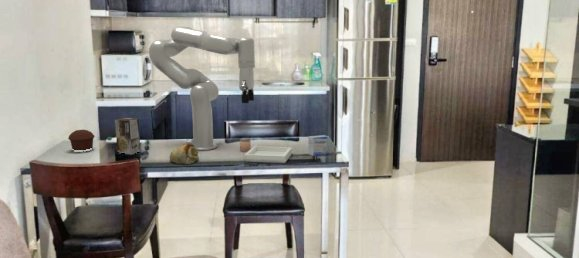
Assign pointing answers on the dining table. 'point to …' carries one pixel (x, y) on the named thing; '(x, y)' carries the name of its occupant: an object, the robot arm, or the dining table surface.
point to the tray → (268, 154)
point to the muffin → (81, 139)
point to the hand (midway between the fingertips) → (247, 101)
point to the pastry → (184, 154)
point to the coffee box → (127, 135)
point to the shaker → (245, 144)
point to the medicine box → (318, 145)
